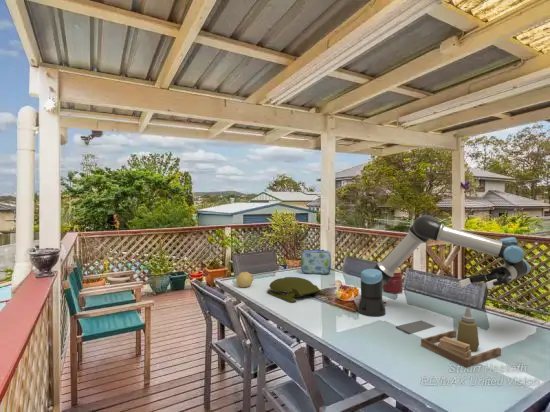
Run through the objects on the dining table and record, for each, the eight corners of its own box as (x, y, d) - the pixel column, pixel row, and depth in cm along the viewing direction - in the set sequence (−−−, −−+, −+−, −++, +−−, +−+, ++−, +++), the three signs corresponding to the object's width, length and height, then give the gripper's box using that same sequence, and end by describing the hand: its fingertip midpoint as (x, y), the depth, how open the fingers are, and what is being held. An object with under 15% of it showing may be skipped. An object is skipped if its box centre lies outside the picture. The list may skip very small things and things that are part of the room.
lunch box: (331, 272, 281) (331, 248, 281) (331, 275, 271) (331, 250, 270) (301, 271, 286) (301, 248, 285) (300, 274, 275) (300, 250, 275)
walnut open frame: (454, 338, 146) (454, 330, 146) (500, 358, 128) (501, 348, 128) (421, 348, 137) (421, 339, 137) (466, 370, 119) (466, 360, 119)
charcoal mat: (421, 321, 166) (421, 320, 166) (453, 334, 150) (453, 333, 150) (395, 327, 159) (395, 326, 159) (426, 342, 142) (426, 340, 142)
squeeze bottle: (452, 346, 138) (452, 305, 138) (470, 345, 139) (470, 304, 139) (465, 355, 130) (465, 311, 130) (483, 354, 131) (484, 311, 131)
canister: (402, 289, 227) (402, 264, 226) (403, 294, 214) (403, 268, 214) (383, 287, 231) (382, 263, 231) (382, 292, 219) (382, 267, 218)
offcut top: (444, 341, 136) (444, 336, 136) (470, 349, 128) (469, 344, 128) (439, 344, 134) (439, 339, 134) (465, 353, 126) (465, 347, 126)
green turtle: (327, 295, 215) (327, 281, 215) (291, 304, 197) (291, 288, 197) (295, 284, 243) (294, 271, 243) (261, 291, 226) (260, 277, 226)
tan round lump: (255, 285, 240) (255, 271, 239) (245, 289, 229) (245, 274, 229) (243, 283, 246) (243, 269, 246) (233, 287, 236) (233, 272, 235)
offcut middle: (443, 345, 137) (443, 340, 137) (471, 355, 128) (471, 350, 128) (437, 348, 134) (437, 343, 134) (465, 358, 125) (466, 353, 125)
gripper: (533, 282, 142) (502, 295, 134) (481, 280, 165) (452, 291, 157) (528, 266, 143) (497, 277, 135) (477, 266, 166) (448, 276, 158)
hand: (473, 285), depth 146 cm, fingers open, 13 cm apart
